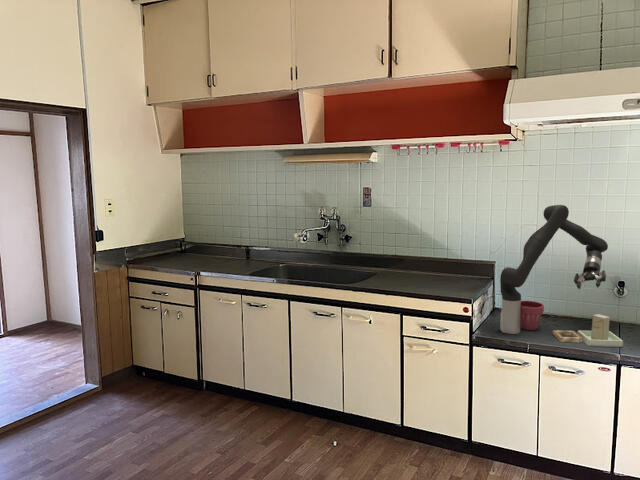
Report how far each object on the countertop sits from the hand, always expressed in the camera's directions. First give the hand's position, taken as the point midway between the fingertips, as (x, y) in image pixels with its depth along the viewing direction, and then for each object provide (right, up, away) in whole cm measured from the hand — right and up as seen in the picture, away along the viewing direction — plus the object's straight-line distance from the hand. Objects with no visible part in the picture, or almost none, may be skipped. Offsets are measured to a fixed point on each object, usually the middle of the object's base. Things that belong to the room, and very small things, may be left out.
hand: (587, 286), depth 258 cm
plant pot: (-22, -23, +18) cm, 37 cm away
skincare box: (+2, -25, -7) cm, 26 cm away
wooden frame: (-11, -25, -1) cm, 28 cm away
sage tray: (+2, -26, -7) cm, 27 cm away
